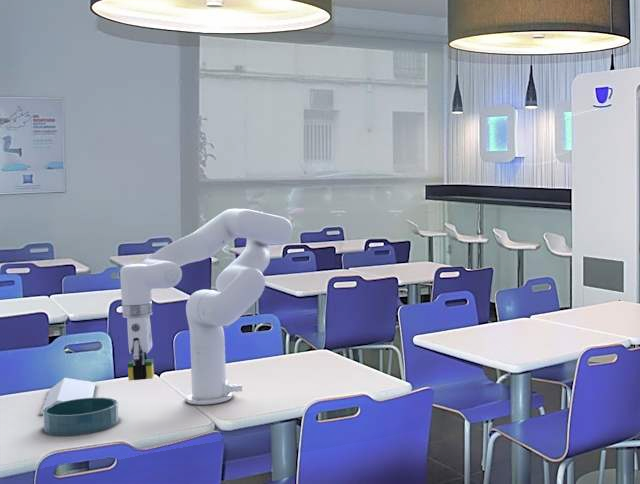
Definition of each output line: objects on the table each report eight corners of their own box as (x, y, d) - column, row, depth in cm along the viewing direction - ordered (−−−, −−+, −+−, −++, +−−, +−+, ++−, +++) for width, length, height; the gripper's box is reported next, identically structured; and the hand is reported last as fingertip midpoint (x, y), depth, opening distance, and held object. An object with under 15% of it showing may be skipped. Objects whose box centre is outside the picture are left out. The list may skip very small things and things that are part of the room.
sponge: (154, 374, 240) (153, 358, 239) (152, 378, 236) (151, 362, 235) (130, 377, 238) (129, 360, 238) (128, 380, 234) (127, 364, 234)
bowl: (122, 413, 239) (122, 395, 239) (111, 432, 222) (110, 412, 222) (53, 418, 236) (52, 400, 235) (36, 438, 218) (35, 418, 218)
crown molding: (89, 409, 244) (89, 396, 244) (41, 415, 239) (40, 402, 239) (93, 386, 271) (93, 374, 271) (49, 391, 267) (49, 379, 266)
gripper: (147, 314, 229) (152, 383, 230) (155, 304, 245) (159, 368, 246) (117, 316, 227) (121, 386, 228) (127, 306, 243) (131, 371, 244)
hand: (141, 376), depth 237 cm, fingers closed on sponge, 4 cm apart
